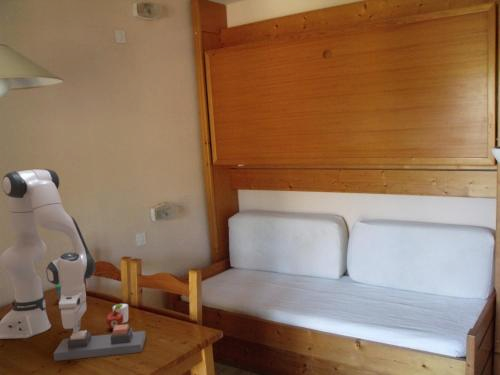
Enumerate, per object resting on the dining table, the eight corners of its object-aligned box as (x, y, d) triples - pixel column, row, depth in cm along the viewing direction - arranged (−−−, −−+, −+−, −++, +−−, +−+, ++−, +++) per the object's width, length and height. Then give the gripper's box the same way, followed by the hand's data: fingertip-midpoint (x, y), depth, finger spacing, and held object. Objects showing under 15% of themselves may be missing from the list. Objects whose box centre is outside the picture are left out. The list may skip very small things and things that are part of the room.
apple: (117, 332, 208) (115, 309, 207) (104, 331, 211) (101, 308, 210) (128, 325, 216) (125, 303, 214) (114, 324, 218) (112, 302, 217)
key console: (54, 361, 186) (52, 345, 185) (64, 346, 198) (62, 331, 198) (141, 352, 188) (140, 336, 187) (145, 337, 201) (144, 323, 200)
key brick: (113, 337, 191) (113, 330, 190) (116, 332, 196) (115, 325, 195) (127, 336, 191) (126, 329, 191) (129, 331, 196) (128, 324, 196)
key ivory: (71, 344, 189) (70, 336, 189) (74, 338, 194) (73, 331, 194) (84, 342, 190) (83, 335, 189) (87, 337, 195) (86, 330, 194)
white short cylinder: (131, 318, 224) (130, 303, 223) (126, 324, 217) (125, 308, 217) (117, 318, 225) (115, 303, 224) (111, 324, 218) (109, 309, 217)
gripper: (72, 287, 200) (75, 321, 202) (57, 305, 180) (60, 342, 181) (88, 286, 200) (91, 319, 202) (74, 304, 180) (78, 341, 182)
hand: (76, 330), depth 192 cm, fingers closed
